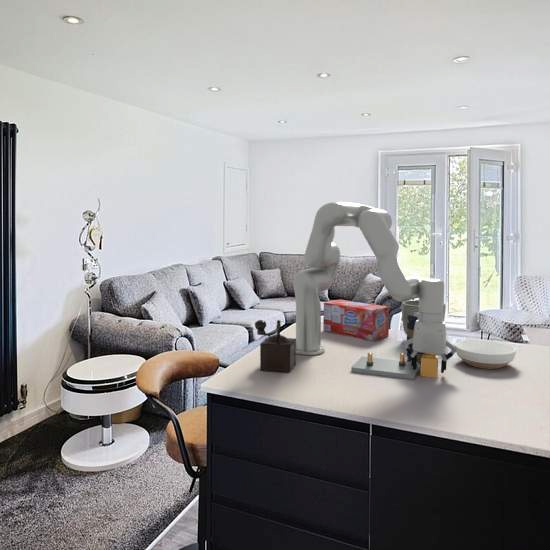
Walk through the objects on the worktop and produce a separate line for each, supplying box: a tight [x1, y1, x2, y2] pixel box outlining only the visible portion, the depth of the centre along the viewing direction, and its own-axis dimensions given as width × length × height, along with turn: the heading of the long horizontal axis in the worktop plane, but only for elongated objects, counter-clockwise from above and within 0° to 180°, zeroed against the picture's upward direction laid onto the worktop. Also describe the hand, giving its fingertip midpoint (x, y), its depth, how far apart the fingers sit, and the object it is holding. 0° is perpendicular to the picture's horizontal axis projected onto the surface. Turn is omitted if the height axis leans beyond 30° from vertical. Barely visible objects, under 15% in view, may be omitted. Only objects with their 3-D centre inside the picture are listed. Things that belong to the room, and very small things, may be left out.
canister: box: [406, 312, 424, 364], centre depth 171 cm, size 10×10×18 cm
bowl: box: [454, 339, 517, 370], centre depth 167 cm, size 20×20×6 cm
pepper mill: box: [254, 319, 297, 374], centre depth 161 cm, size 16×11×18 cm
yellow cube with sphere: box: [420, 353, 439, 379], centre depth 156 cm, size 5×5×7 cm
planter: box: [401, 299, 446, 336], centre depth 198 cm, size 17×17×16 cm
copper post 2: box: [399, 352, 406, 366], centre depth 161 cm, size 2×2×6 cm
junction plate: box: [350, 355, 421, 380], centre depth 162 cm, size 20×14×2 cm
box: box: [322, 298, 390, 342], centre depth 212 cm, size 27×13×14 cm, turn 45°
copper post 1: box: [367, 352, 373, 366], centre depth 162 cm, size 2×2×6 cm
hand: (428, 370), depth 156 cm, fingers open, 8 cm apart
